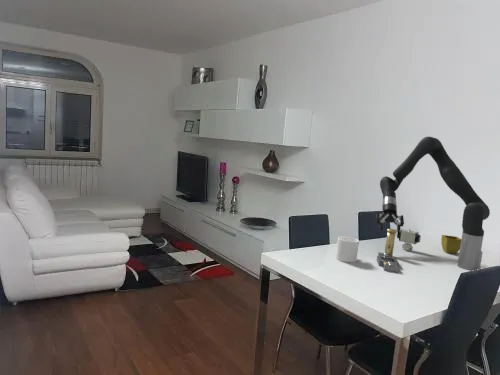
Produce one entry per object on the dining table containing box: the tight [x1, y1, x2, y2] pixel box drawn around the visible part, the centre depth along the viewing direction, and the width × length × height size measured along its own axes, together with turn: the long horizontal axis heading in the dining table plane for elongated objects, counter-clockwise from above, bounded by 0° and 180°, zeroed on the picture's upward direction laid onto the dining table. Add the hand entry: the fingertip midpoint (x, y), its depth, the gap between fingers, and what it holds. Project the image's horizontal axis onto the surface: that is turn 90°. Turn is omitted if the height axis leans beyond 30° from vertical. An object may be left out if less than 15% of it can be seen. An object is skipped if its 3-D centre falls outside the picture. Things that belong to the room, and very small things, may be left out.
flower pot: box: [441, 234, 462, 255], centre depth 224 cm, size 9×9×9 cm
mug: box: [335, 236, 360, 264], centre depth 191 cm, size 13×10×10 cm
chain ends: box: [376, 252, 400, 273], centre depth 189 cm, size 9×23×3 cm, turn 169°
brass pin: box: [384, 228, 397, 257], centre depth 204 cm, size 5×5×14 cm
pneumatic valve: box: [396, 229, 422, 252], centre depth 221 cm, size 6×12×12 cm, turn 54°
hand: (389, 230), depth 209 cm, fingers open, 8 cm apart
